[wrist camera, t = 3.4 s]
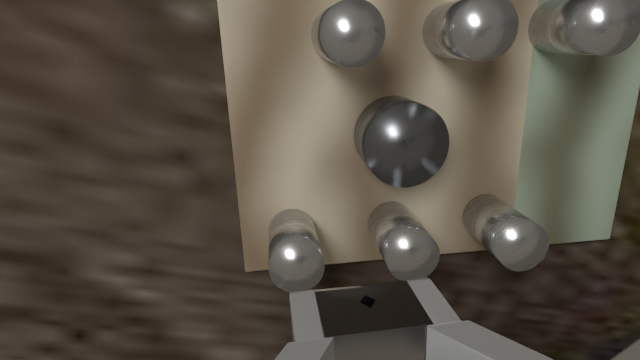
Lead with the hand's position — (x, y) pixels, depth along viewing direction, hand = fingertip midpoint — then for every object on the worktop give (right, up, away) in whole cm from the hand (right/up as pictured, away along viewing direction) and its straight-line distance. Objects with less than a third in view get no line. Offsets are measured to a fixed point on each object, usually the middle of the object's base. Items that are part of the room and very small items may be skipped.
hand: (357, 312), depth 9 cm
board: (+6, +6, +16) cm, 18 cm away
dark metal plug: (+3, +5, +15) cm, 17 cm away
